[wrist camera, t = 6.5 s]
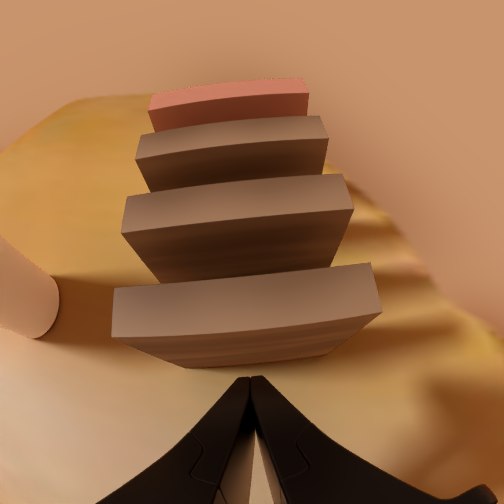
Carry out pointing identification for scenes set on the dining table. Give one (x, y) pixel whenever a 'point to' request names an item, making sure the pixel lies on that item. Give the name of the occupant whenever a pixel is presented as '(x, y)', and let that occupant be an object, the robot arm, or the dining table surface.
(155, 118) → the tile
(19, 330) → the can
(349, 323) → the tile
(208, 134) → the tile
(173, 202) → the tile
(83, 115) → the dining table surface
